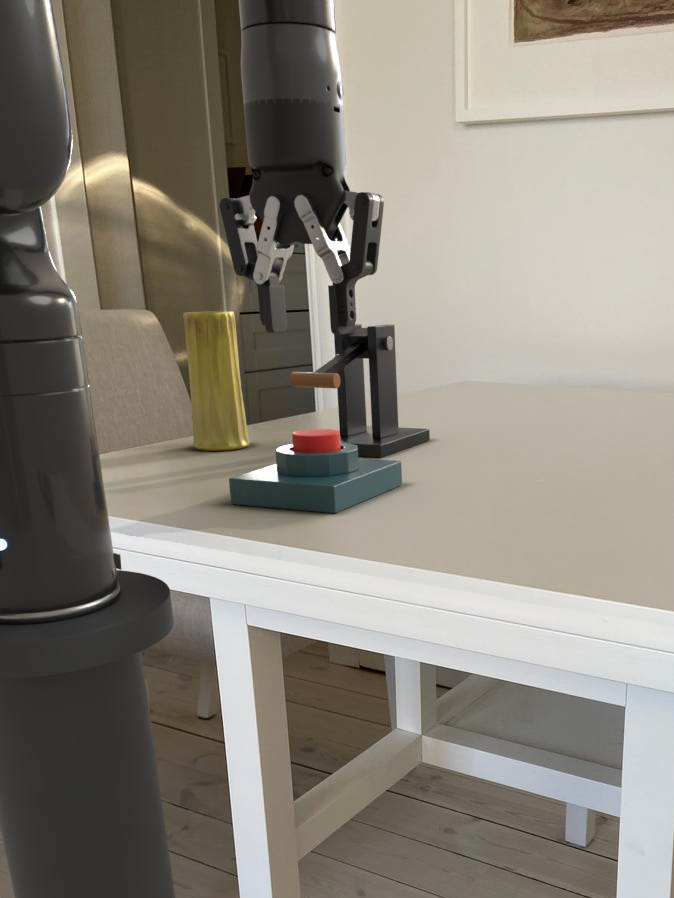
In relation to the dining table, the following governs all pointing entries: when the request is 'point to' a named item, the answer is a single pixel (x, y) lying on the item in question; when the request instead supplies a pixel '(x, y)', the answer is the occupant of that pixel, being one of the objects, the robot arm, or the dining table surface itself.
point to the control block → (316, 480)
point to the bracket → (373, 398)
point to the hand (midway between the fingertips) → (308, 332)
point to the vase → (215, 381)
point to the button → (316, 440)
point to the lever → (334, 364)
